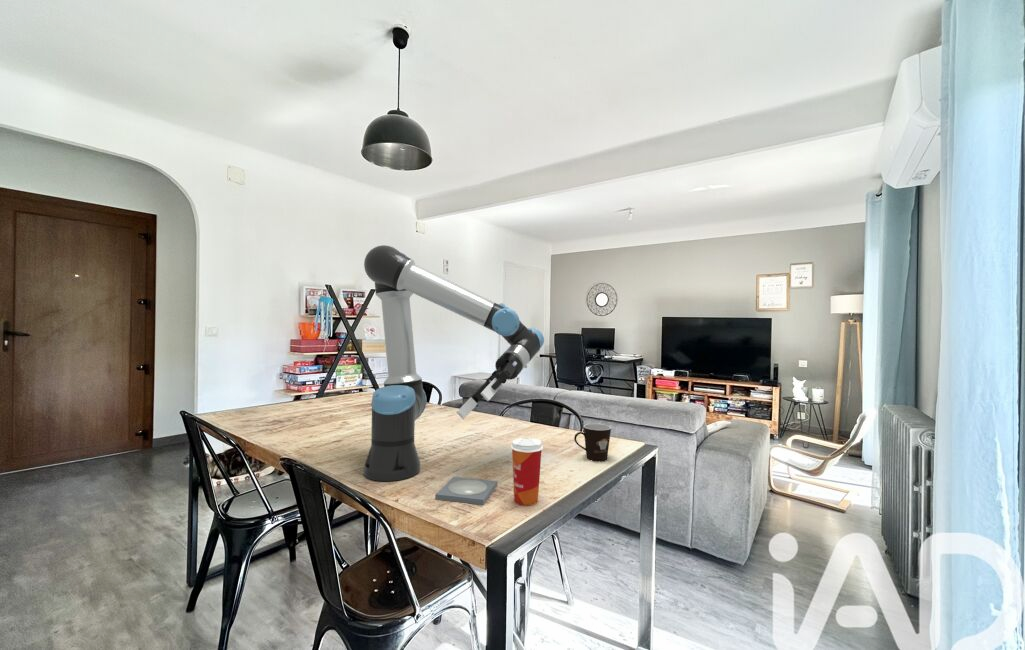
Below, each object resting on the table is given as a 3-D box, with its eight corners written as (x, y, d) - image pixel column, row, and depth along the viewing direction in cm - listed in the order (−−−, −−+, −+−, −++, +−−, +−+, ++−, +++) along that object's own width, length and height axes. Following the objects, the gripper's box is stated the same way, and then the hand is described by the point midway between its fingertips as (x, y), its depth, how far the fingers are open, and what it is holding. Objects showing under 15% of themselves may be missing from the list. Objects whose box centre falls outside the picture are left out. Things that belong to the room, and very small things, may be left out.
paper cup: (510, 493, 103) (511, 437, 103) (541, 494, 103) (542, 437, 103) (509, 507, 95) (510, 446, 95) (542, 508, 95) (543, 447, 95)
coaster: (435, 499, 99) (435, 493, 99) (453, 481, 110) (453, 476, 110) (483, 505, 96) (483, 499, 96) (497, 485, 108) (497, 480, 108)
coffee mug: (608, 454, 136) (609, 424, 136) (612, 463, 127) (612, 430, 127) (572, 453, 137) (573, 422, 137) (574, 461, 128) (574, 429, 128)
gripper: (545, 353, 115) (507, 399, 100) (499, 387, 133) (460, 431, 117) (526, 333, 115) (485, 376, 100) (483, 370, 132) (442, 412, 117)
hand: (471, 406), depth 109 cm, fingers open, 13 cm apart
